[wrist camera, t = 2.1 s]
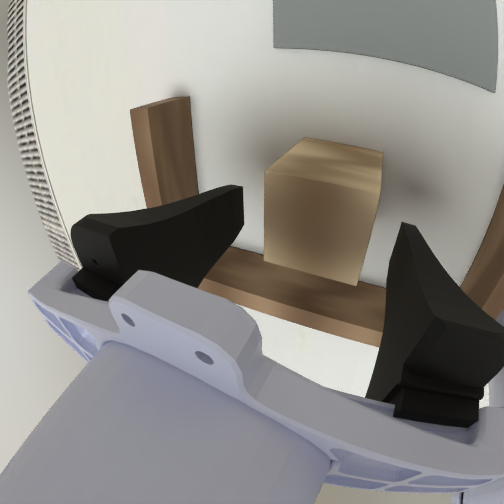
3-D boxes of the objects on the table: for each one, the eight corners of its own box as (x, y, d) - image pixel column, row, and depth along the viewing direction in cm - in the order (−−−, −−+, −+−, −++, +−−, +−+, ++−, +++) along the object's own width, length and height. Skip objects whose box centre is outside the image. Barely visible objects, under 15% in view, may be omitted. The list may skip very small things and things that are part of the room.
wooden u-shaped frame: (530, 164, 9) (560, 193, 6) (456, 323, 17) (458, 366, 14) (172, 97, 17) (129, 109, 14) (191, 249, 25) (164, 277, 22)
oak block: (382, 152, 14) (380, 194, 9) (369, 221, 16) (356, 286, 12) (305, 137, 15) (264, 171, 11) (300, 205, 18) (263, 260, 14)
